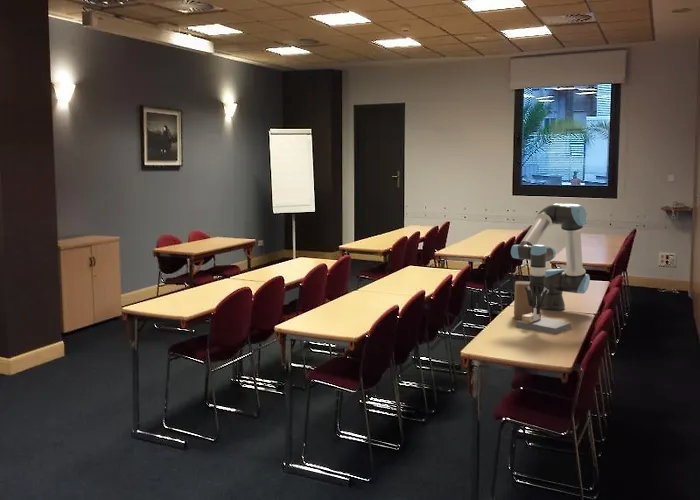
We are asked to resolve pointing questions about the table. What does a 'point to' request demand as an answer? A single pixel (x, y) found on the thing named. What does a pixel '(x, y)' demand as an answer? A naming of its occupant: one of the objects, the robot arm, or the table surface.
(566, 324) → the stool seat
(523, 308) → the wooden block
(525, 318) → the folding leg
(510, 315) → the table surface
